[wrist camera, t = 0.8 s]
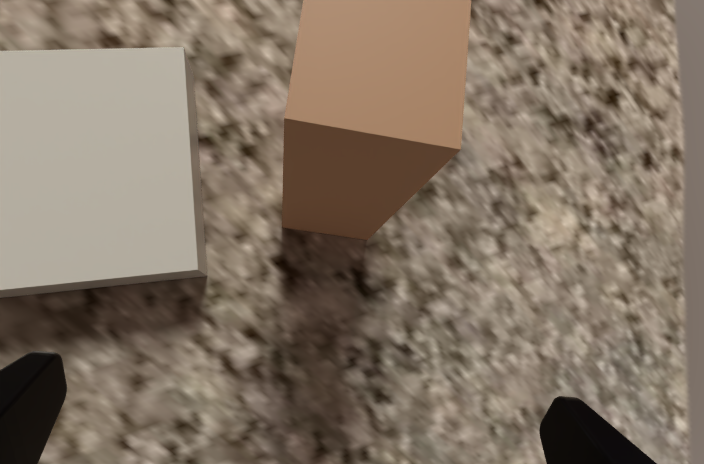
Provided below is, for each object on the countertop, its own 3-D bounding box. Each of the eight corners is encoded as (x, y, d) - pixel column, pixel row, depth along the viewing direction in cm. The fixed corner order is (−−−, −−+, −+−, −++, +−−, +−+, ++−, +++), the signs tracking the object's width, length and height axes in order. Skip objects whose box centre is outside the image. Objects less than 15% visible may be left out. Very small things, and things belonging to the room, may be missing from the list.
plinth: (207, 275, 21) (197, 269, 19) (-39, 302, 19) (-85, 298, 17) (193, 76, 23) (183, 47, 20) (-33, 84, 21) (-73, 52, 19)
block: (367, 239, 22) (460, 149, 11) (281, 227, 22) (284, 118, 10) (376, 160, 23) (471, -3, 12) (294, 146, 23) (309, -38, 11)
